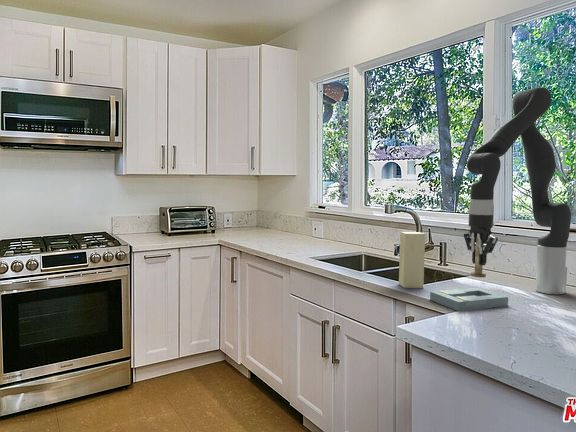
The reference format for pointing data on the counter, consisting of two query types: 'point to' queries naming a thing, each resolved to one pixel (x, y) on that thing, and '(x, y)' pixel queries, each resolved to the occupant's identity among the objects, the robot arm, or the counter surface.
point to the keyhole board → (468, 298)
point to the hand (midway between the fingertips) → (478, 264)
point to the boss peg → (478, 267)
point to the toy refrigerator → (411, 259)
